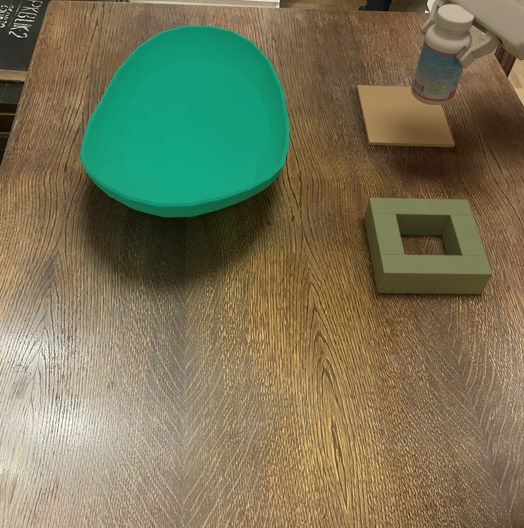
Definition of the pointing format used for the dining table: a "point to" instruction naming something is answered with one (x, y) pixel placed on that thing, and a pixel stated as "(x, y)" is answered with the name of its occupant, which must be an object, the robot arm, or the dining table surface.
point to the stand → (426, 266)
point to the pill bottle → (442, 56)
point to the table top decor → (188, 124)
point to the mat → (402, 118)
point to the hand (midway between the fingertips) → (441, 49)
